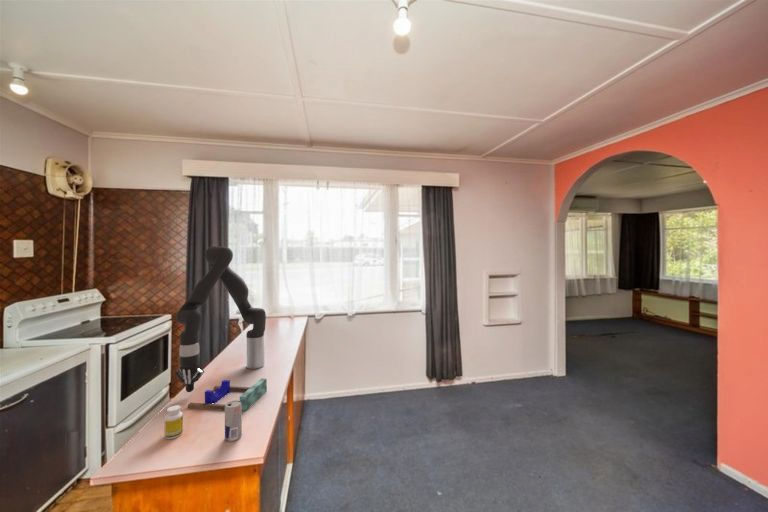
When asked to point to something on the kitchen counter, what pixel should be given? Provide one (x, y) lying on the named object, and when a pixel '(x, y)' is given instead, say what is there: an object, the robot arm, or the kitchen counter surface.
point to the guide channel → (246, 398)
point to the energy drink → (233, 421)
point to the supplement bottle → (173, 422)
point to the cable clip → (217, 392)
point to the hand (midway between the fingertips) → (189, 391)
